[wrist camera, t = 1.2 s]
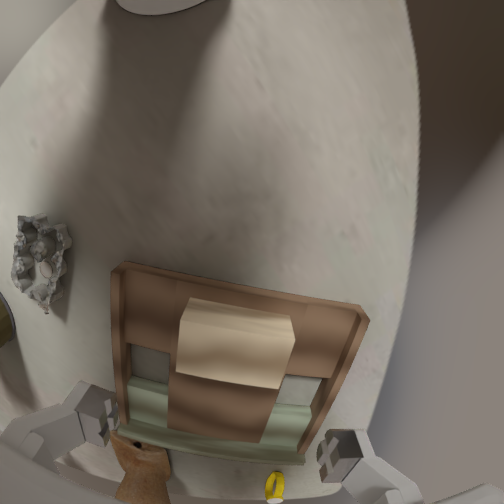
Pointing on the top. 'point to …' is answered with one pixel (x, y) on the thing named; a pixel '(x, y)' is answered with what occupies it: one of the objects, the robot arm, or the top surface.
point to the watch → (278, 491)
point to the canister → (6, 322)
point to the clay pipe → (141, 471)
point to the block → (234, 344)
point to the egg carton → (39, 258)
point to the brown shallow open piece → (220, 392)
